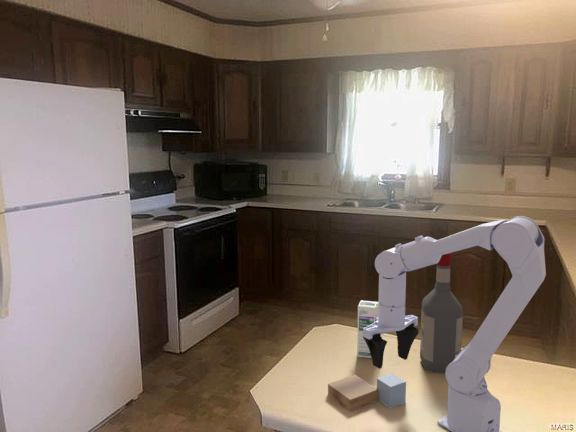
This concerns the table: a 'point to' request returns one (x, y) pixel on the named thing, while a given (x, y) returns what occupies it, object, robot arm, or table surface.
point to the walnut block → (352, 392)
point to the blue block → (391, 390)
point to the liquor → (441, 322)
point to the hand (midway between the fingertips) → (390, 362)
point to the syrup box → (365, 324)
